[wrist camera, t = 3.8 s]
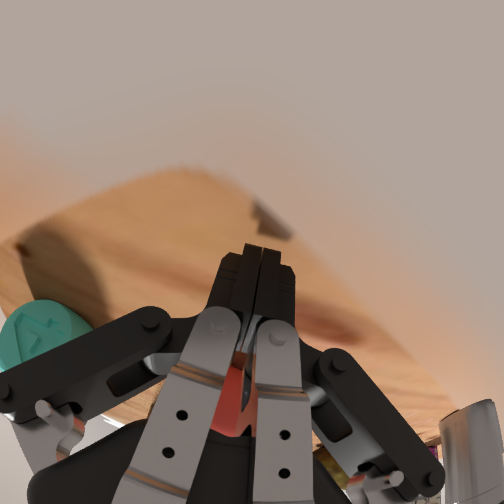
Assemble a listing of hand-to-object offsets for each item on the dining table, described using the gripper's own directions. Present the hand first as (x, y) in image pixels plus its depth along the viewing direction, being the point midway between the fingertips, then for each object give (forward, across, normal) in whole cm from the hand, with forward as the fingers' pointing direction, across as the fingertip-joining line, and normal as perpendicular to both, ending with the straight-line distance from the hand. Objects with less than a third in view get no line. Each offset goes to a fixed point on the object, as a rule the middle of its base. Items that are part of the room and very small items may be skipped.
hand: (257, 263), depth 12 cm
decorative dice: (+2, +15, +14) cm, 21 cm away
